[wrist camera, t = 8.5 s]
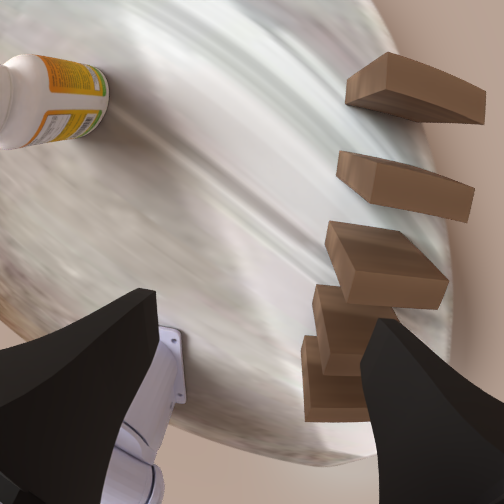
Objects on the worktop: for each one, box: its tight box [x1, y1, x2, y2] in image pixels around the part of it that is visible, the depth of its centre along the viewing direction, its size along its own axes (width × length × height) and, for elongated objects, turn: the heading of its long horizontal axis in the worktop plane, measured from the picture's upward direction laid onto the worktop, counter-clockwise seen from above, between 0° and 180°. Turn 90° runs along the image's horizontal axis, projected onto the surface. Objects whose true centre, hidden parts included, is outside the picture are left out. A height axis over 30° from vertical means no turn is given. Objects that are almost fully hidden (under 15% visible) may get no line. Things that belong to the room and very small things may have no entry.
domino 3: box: [325, 221, 449, 310], centre depth 15 cm, size 2×5×7 cm, turn 85°
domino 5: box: [301, 335, 370, 422], centre depth 19 cm, size 2×5×7 cm, turn 85°
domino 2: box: [336, 151, 475, 223], centre depth 13 cm, size 2×5×7 cm, turn 85°
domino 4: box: [312, 284, 400, 376], centre depth 17 cm, size 2×5×7 cm, turn 85°
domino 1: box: [345, 52, 486, 125], centre depth 12 cm, size 2×5×7 cm, turn 85°
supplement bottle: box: [0, 54, 109, 150], centre depth 11 cm, size 5×5×10 cm
